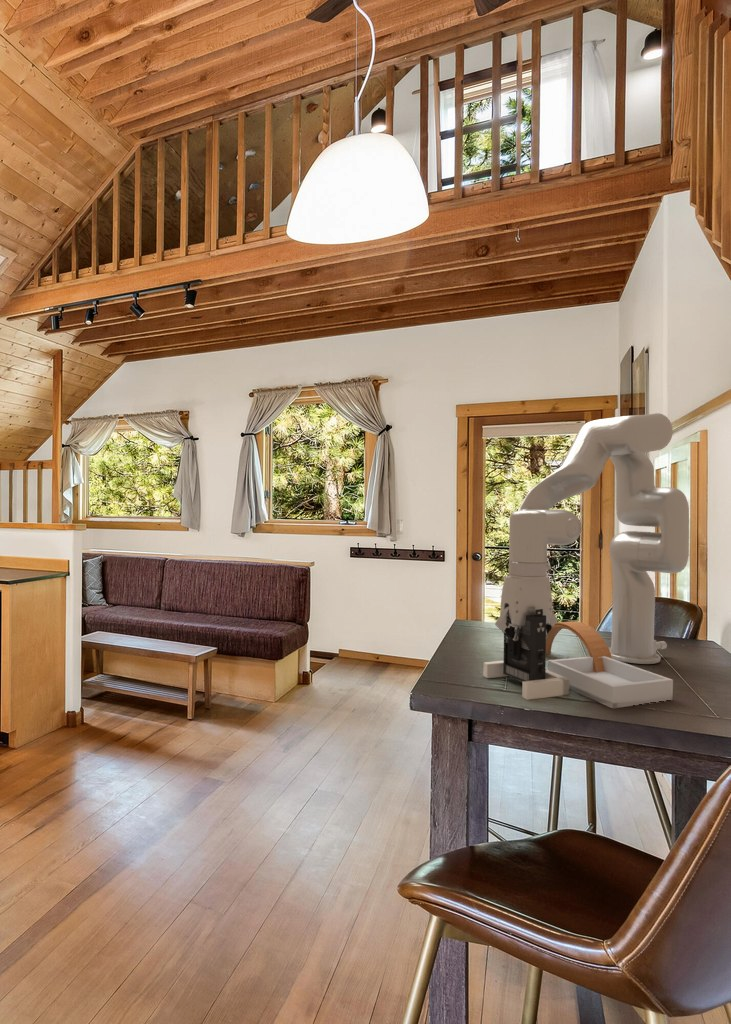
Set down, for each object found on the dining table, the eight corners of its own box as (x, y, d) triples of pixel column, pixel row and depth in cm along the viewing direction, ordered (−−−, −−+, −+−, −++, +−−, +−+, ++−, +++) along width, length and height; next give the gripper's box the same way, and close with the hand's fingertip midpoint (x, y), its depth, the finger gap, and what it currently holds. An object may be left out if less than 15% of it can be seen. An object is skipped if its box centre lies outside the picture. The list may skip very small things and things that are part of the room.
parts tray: (601, 672, 121) (602, 655, 121) (672, 700, 104) (673, 679, 104) (547, 678, 116) (547, 660, 116) (612, 708, 99) (613, 686, 99)
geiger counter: (553, 684, 108) (554, 609, 108) (537, 687, 106) (538, 611, 105) (516, 669, 117) (517, 601, 117) (500, 672, 115) (501, 602, 115)
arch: (595, 676, 118) (595, 630, 118) (531, 656, 136) (531, 617, 136) (614, 673, 120) (613, 628, 120) (549, 654, 138) (548, 615, 139)
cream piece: (521, 672, 120) (522, 658, 120) (569, 694, 106) (569, 679, 106) (483, 676, 116) (483, 662, 116) (526, 699, 102) (527, 684, 102)
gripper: (549, 566, 118) (547, 649, 118) (482, 569, 112) (481, 656, 112) (573, 570, 110) (572, 658, 111) (503, 574, 105) (502, 666, 105)
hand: (526, 656), depth 111 cm, fingers closed on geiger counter, 5 cm apart
